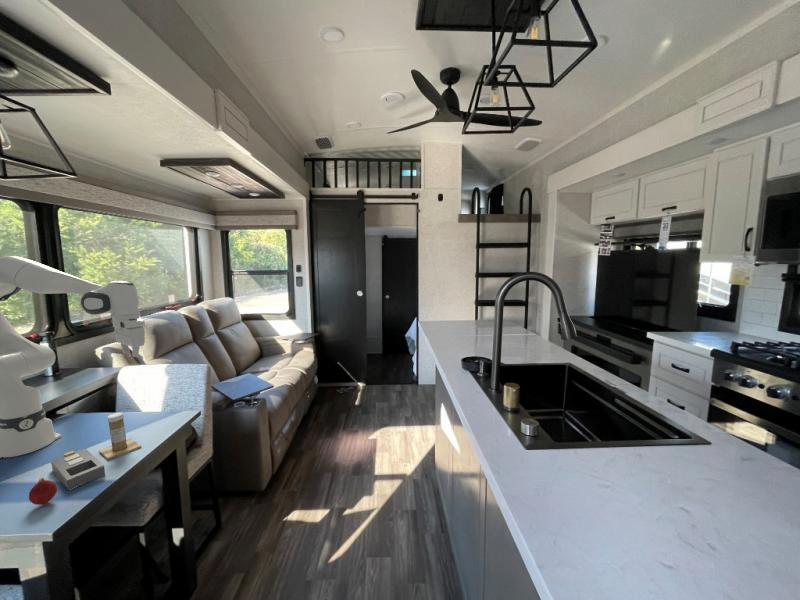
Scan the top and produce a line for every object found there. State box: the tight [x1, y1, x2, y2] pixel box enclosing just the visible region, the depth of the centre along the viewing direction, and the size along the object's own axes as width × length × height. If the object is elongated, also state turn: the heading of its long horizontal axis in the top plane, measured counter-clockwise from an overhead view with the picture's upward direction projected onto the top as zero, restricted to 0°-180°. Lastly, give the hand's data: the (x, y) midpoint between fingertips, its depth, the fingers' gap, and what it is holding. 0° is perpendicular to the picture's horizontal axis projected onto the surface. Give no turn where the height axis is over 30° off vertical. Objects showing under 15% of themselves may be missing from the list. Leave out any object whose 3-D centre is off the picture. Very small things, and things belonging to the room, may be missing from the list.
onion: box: [28, 477, 58, 506], centre depth 99 cm, size 6×6×8 cm
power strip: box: [50, 448, 106, 491], centre depth 115 cm, size 26×9×4 cm, turn 56°
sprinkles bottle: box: [106, 412, 127, 451], centre depth 127 cm, size 5×5×14 cm
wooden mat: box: [98, 438, 142, 461], centre depth 127 cm, size 10×10×1 cm
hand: (131, 355), depth 135 cm, fingers open, 8 cm apart
